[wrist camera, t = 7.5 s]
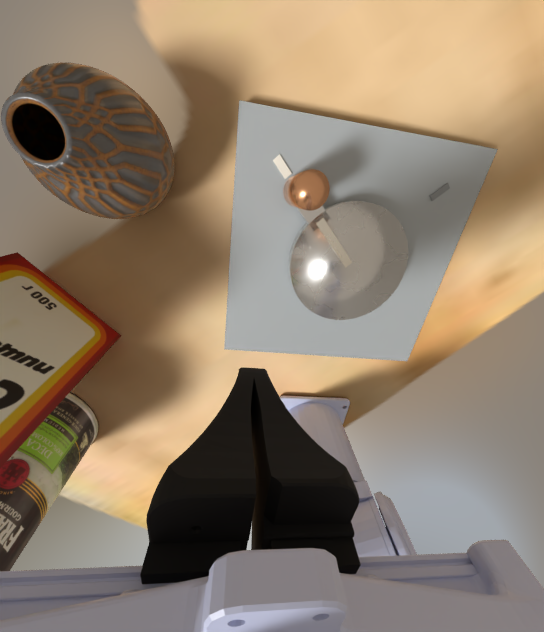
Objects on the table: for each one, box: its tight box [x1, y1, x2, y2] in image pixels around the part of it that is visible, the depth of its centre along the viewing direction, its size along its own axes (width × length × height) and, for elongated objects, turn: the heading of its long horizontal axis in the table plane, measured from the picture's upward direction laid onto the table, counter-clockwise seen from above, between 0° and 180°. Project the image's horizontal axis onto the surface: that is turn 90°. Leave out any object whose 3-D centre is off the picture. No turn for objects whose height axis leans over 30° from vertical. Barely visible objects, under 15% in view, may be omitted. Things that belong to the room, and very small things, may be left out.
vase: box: [1, 63, 174, 219], centre depth 13 cm, size 7×7×9 cm
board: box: [224, 100, 498, 361], centre depth 21 cm, size 18×18×1 cm
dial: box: [283, 169, 408, 320], centre depth 18 cm, size 12×9×4 cm
